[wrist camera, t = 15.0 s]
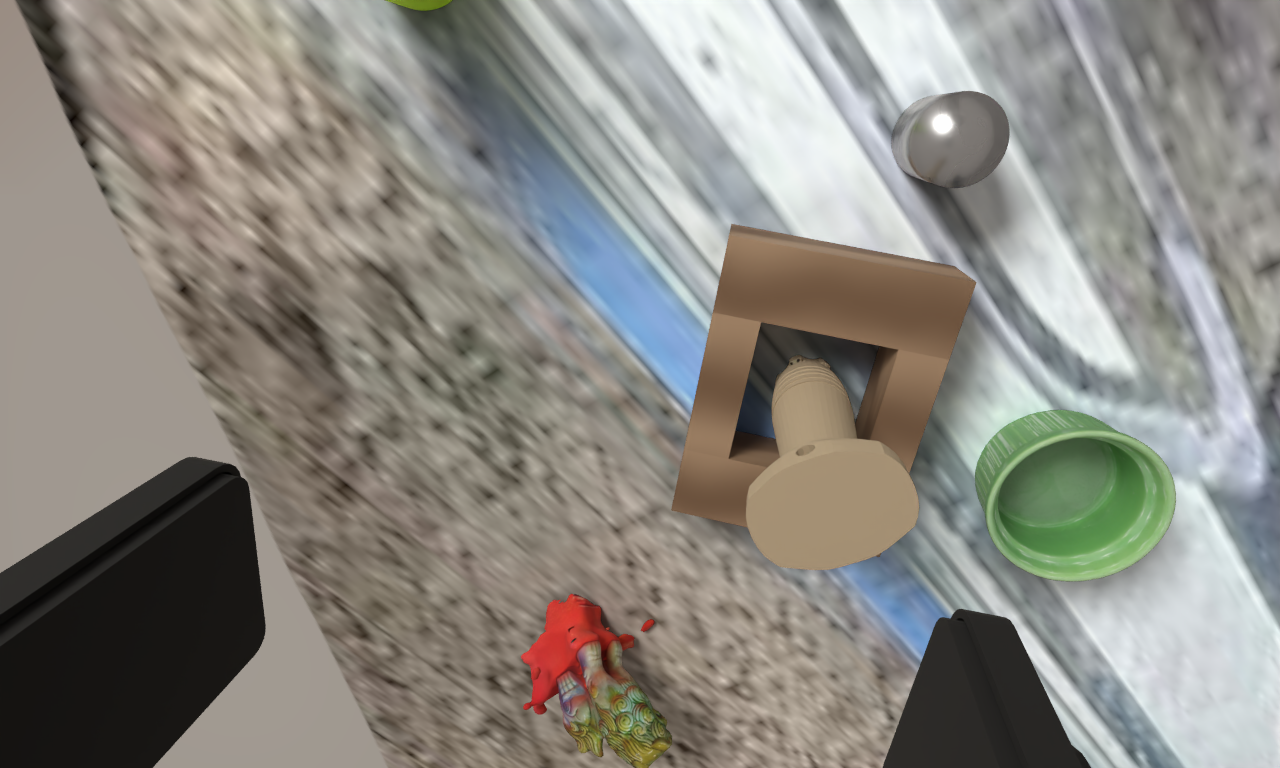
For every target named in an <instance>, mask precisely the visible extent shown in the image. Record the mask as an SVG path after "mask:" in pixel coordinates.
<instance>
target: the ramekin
mask: <svg viewBox="0 0 1280 768" xmlns="http://www.w3.org/2000/svg"><path fill="white" fill-rule="evenodd" d="M975 485H976V490H977V494H978V498H979V501H980V503H981V505H982V508H983V510H984V512H985V518H986V524H987V528H988V531H989V534H990V536H991V538H992V541H993V542H994V544H995V545H996V547H997V548H998V550H999V551H1000V552H1001V553H1002V554H1003V555H1004V556H1005V557H1006V558H1007V559H1008V560H1009V561H1011V562H1012V563H1013V564H1015V565H1016V566H1018V567H1019V568H1021V569H1023V570H1025V571H1027V572H1029V573H1031V574H1033V575H1036V576H1039V577H1043V578H1046V579H1051V580H1057V581H1086V580H1093V579H1098V578H1102V577H1106V576H1109V575H1112V574H1115V573H1117V572H1119V571H1122V570H1124V569H1126V568H1128V567H1129V566H1131V565H1133V564H1134V563H1136V562H1138V561H1139V560H1140V559H1142V558H1143V557H1144V556H1145V555H1147V554H1148V553H1149V552H1150V551H1151V550H1152V549H1153V548H1154V547H1155V546H1156V545H1157V544H1158V542H1159V541H1160V540H1161V539H1162V537H1163V536H1164V534H1165V532H1166V531H1167V529H1168V527H1169V525H1170V523H1171V520H1172V518H1173V514H1174V510H1175V503H1176V492H1175V485H1174V481H1173V478H1172V475H1171V473H1170V471H1169V469H1168V467H1167V465H1166V464H1165V463H1164V461H1163V460H1162V459H1161V458H1160V456H1159V455H1158V454H1156V453H1155V452H1154V451H1153V450H1152V449H1151V448H1150V447H1148V446H1147V445H1145V444H1144V443H1142V442H1140V441H1139V440H1137V439H1135V438H1132V437H1130V436H1128V435H1126V434H1123V433H1120V432H1118V431H1116V430H1115V429H1113V428H1111V427H1110V426H1108V425H1107V424H1105V423H1103V422H1102V421H1100V420H1098V419H1096V418H1094V417H1092V416H1089V415H1086V414H1083V413H1079V412H1074V411H1067V410H1050V411H1043V412H1037V413H1034V414H1030V415H1027V416H1025V417H1022V418H1020V419H1018V420H1016V421H1014V422H1012V423H1010V424H1008V425H1007V426H1005V427H1004V428H1003V429H1001V430H1000V431H999V432H998V433H997V434H996V435H995V436H994V437H993V438H992V439H991V440H990V441H989V442H988V444H987V445H986V446H985V448H984V450H983V452H982V453H981V456H980V458H979V460H978V463H977V467H976V472H975Z"/></svg>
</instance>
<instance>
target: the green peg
mask: <svg viewBox="0 0 1280 768" xmlns="http://www.w3.org/2000/svg"><path fill="white" fill-rule="evenodd" d="M385 1H388V2H392V3H395V4H398V5H401V6H404V7H407V8H410V9H414V10H420V11H428V10H434V9H438V8H440V7H443V6H445V5H447V4H448V3H450V2H451V1H452V0H385Z"/></svg>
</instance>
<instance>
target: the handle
mask: <svg viewBox="0 0 1280 768" xmlns="http://www.w3.org/2000/svg"><path fill="white" fill-rule="evenodd" d="M772 423H773V428H774V433H775V437H776V442H777V446H778V451H779V455H780V458H778V459H777V460H776V461H775V462H773V463H772V464H771V465H770V466H769V467H768V468H767V469H765V470H764V471H763V472H762V473H761V474H760V475H759V476H758V477H757V478H756V480H755V481H754V482H753V483H752V484H751V485H750V486H749V490H748V494H747V503H746V520H747V526H748V529H749V532H750V534H751V537H752V539H753V541H754V542H755V544H756V546H757V547H758V549H759V550H760V551H761V552H762V554H763V555H764V556H765V557H766V558H768V559H769V560H770V561H772V562H773V563H775V564H776V565H778V566H780V567H785V568H796V569H808V570H829V569H834V568H839V567H843V566H846V565H849V564H853V563H856V562H859V561H863V560H866V559H869V558H871V557H874V556H876V555H878V554H880V553H881V552H883V551H885V550H886V549H888V548H889V547H890V546H892V545H893V544H894V543H895V542H897V541H898V540H899V539H900V538H901V537H903V536H904V535H905V534H906V533H907V532H909V531H910V530H911V529H912V528H913V527H914V526H915V524H916V521H917V518H918V512H919V501H918V495H917V492H916V489H915V485H914V483H913V481H912V479H911V477H910V475H909V473H908V471H907V469H906V467H905V465H904V463H903V462H902V461H901V459H900V458H899V457H898V455H897V454H896V453H895V452H894V451H893V450H891V449H890V448H889V447H888V446H886V445H884V444H883V443H881V442H879V441H874V440H865V439H857V434H856V428H855V421H854V415H853V410H852V406H851V403H850V400H849V397H848V395H847V392H846V390H845V388H844V387H843V385H842V383H841V381H840V380H839V379H838V377H837V376H836V375H835V374H834V373H833V372H832V371H831V370H830V365H829V364H828V363H827V362H826V361H825V360H824V359H822V358H819V359H808V358H805V357H802V356H801V355H796V356H794V357H792V358H790V360H789V364H788V366H787V367H786V369H785V370H784V371H783V372H782V373H780V374H778V375H777V377H776V382H775V389H774V393H773V399H772Z"/></svg>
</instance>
